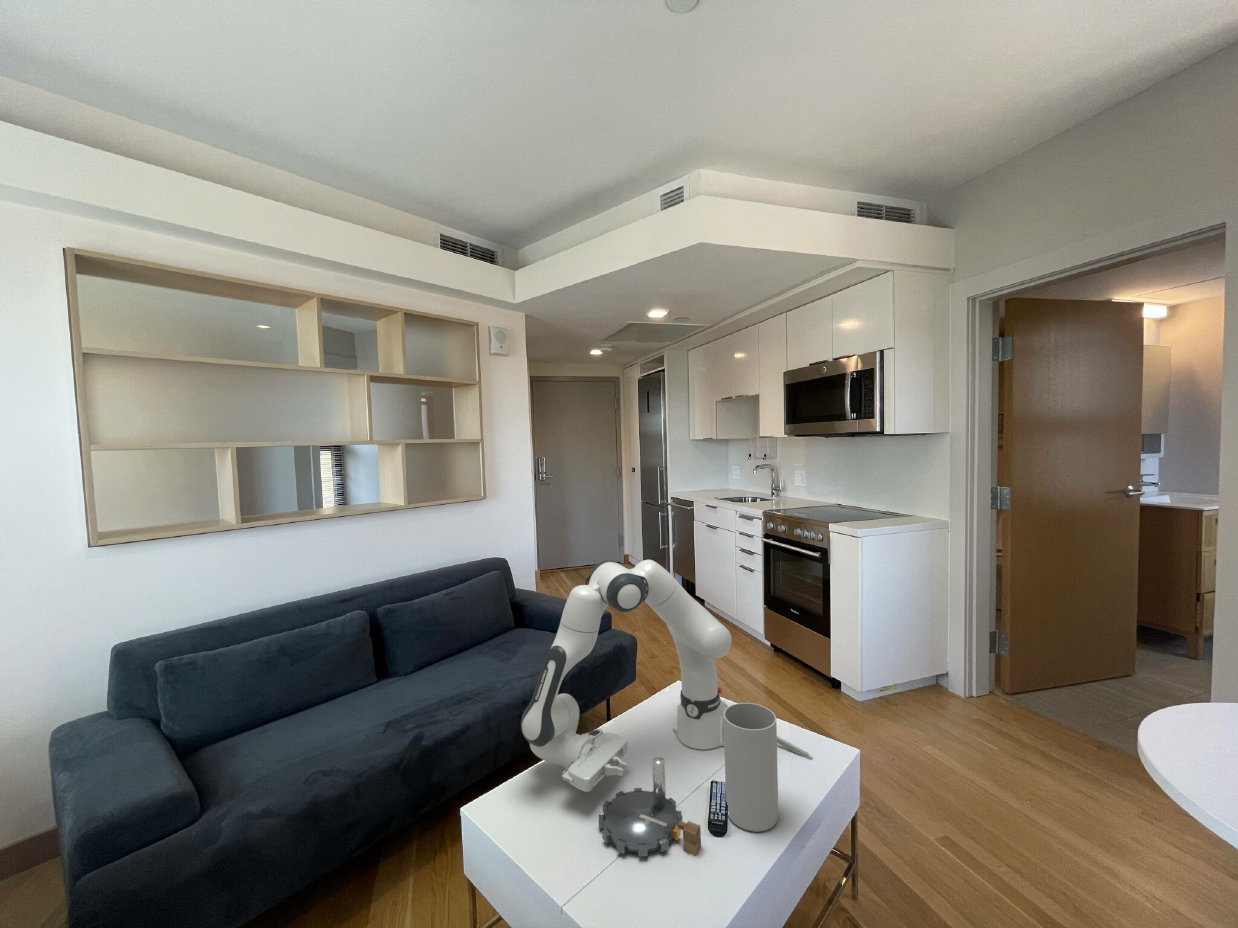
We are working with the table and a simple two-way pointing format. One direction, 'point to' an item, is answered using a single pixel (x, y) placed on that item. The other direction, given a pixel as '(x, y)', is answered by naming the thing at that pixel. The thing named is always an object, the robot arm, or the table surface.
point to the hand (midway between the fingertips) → (625, 770)
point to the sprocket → (642, 817)
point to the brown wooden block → (690, 837)
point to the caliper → (793, 748)
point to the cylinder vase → (751, 766)
